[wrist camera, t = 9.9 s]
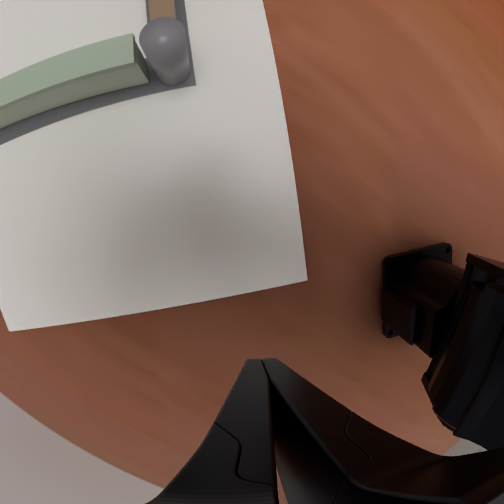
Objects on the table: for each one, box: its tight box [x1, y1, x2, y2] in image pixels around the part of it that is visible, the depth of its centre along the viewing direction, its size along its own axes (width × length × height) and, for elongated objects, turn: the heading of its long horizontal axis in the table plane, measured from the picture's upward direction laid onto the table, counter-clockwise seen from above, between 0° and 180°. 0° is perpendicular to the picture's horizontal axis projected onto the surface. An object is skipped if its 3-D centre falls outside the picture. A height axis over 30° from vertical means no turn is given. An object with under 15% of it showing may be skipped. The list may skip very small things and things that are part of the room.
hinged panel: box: [0, 33, 149, 129], centre depth 13 cm, size 12×2×4 cm, turn 97°
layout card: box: [0, 0, 307, 331], centre depth 14 cm, size 22×26×6 cm
